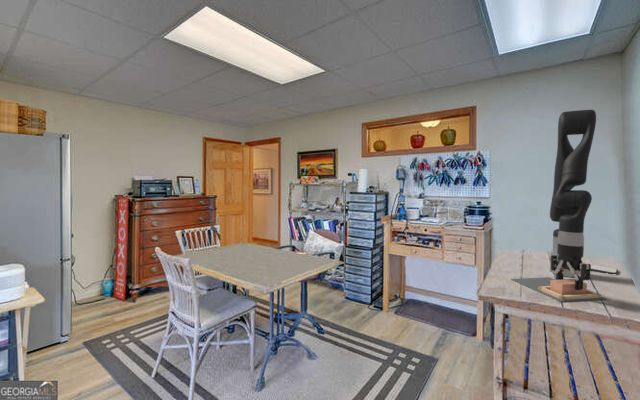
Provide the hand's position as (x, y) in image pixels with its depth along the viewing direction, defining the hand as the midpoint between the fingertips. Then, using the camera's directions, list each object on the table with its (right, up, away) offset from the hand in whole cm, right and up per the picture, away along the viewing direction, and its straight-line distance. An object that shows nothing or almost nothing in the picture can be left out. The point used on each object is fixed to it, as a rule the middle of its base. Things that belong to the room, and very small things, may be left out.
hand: (568, 286), depth 111 cm
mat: (-1, -3, +6) cm, 7 cm away
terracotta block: (0, -3, 0) cm, 3 cm away
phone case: (+38, -1, +30) cm, 49 cm away
